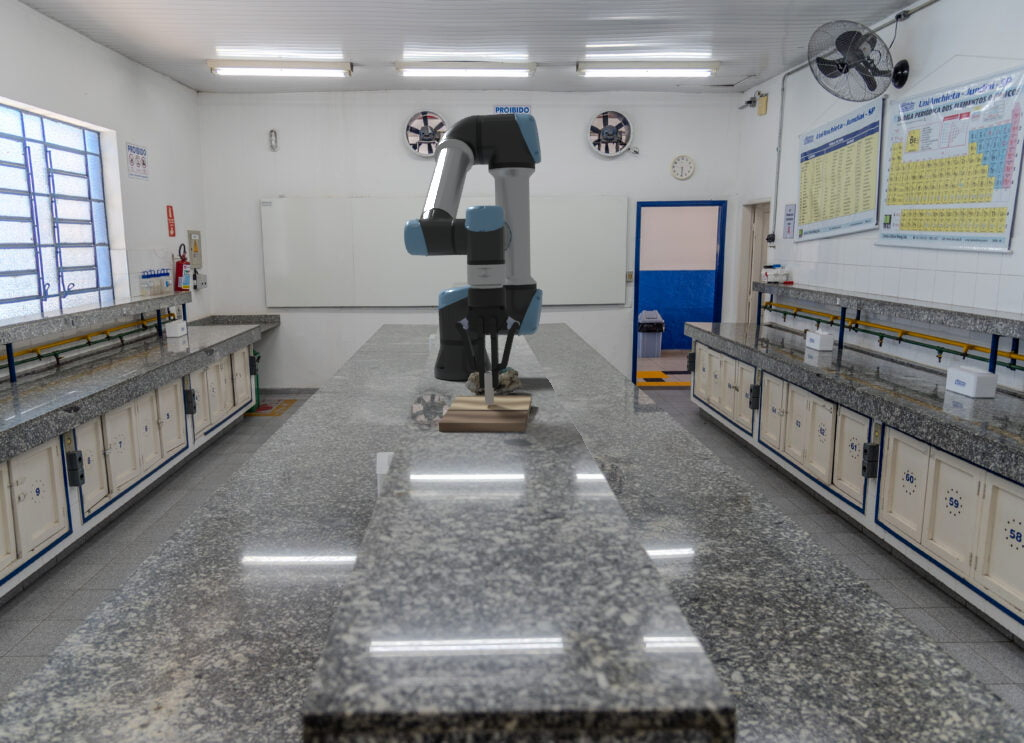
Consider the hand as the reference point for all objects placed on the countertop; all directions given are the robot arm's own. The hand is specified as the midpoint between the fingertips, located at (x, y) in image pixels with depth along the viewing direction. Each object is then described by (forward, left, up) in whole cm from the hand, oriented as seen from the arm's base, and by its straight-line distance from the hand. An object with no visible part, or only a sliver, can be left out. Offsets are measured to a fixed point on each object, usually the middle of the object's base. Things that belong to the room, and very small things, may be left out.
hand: (489, 403), depth 142 cm
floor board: (+8, 0, -2) cm, 8 cm away
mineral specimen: (-18, -1, -3) cm, 18 cm away
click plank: (-3, 0, -2) cm, 3 cm away
